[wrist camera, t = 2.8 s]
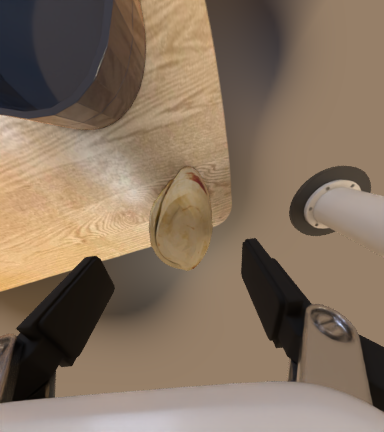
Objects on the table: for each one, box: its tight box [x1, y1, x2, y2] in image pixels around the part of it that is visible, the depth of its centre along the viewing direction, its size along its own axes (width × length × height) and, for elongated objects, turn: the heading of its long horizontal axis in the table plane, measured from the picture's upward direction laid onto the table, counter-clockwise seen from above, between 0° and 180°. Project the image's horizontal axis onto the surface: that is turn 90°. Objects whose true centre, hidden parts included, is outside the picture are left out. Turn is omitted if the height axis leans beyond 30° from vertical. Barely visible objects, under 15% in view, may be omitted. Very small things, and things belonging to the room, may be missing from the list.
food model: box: [149, 167, 212, 271], centre depth 21 cm, size 10×7×20 cm
